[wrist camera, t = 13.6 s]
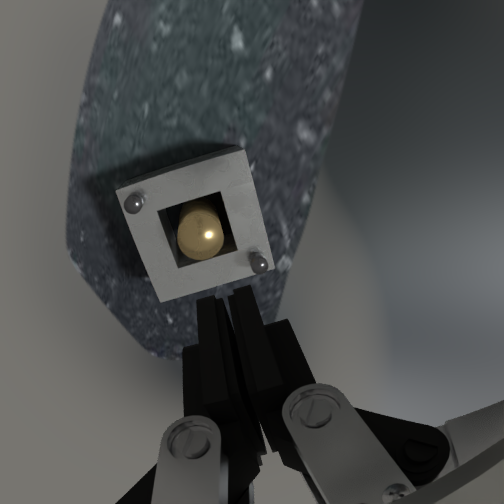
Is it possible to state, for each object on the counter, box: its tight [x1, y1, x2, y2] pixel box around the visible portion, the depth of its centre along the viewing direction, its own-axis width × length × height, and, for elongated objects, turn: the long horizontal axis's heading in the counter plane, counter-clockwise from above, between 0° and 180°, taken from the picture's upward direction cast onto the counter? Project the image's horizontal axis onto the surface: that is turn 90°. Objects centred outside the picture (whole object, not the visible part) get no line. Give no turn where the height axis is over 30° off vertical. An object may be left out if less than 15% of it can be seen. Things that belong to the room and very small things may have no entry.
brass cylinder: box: [177, 197, 224, 260], centre depth 31 cm, size 4×4×7 cm
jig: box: [116, 145, 275, 302], centre depth 31 cm, size 12×12×7 cm
